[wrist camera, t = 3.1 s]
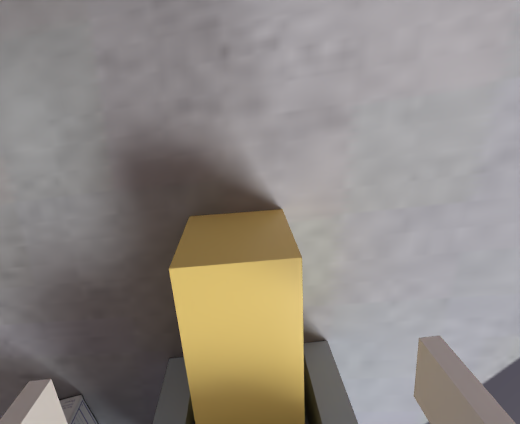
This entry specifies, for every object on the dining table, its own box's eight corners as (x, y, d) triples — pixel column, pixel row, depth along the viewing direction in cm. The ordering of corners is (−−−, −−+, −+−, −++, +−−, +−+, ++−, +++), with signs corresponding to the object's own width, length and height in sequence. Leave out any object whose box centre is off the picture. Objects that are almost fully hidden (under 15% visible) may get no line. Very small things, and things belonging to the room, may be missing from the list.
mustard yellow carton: (215, 400, 27) (208, 500, 20) (189, 215, 21) (168, 268, 15) (288, 392, 27) (305, 489, 20) (281, 208, 21) (302, 257, 15)
